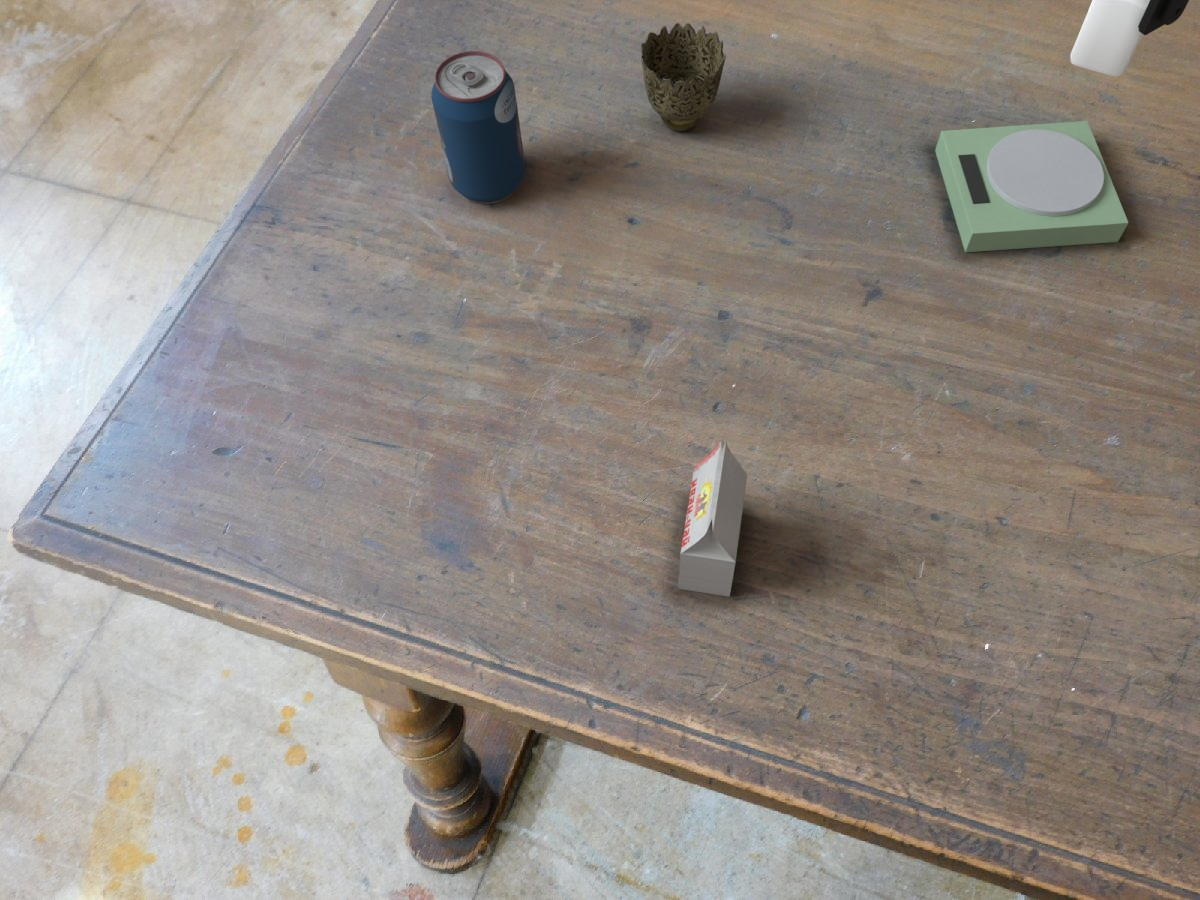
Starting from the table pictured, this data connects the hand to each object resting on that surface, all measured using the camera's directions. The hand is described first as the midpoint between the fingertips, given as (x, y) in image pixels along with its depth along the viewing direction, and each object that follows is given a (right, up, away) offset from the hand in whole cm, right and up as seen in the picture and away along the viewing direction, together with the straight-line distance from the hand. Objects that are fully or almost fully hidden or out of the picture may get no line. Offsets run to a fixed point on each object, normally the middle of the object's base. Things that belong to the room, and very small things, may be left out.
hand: (1124, 1), depth 75 cm
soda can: (-47, -7, +22) cm, 52 cm away
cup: (-29, -1, +25) cm, 39 cm away
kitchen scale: (0, -9, +19) cm, 21 cm away
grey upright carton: (-29, -39, +3) cm, 48 cm away
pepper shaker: (0, -2, +4) cm, 5 cm away
